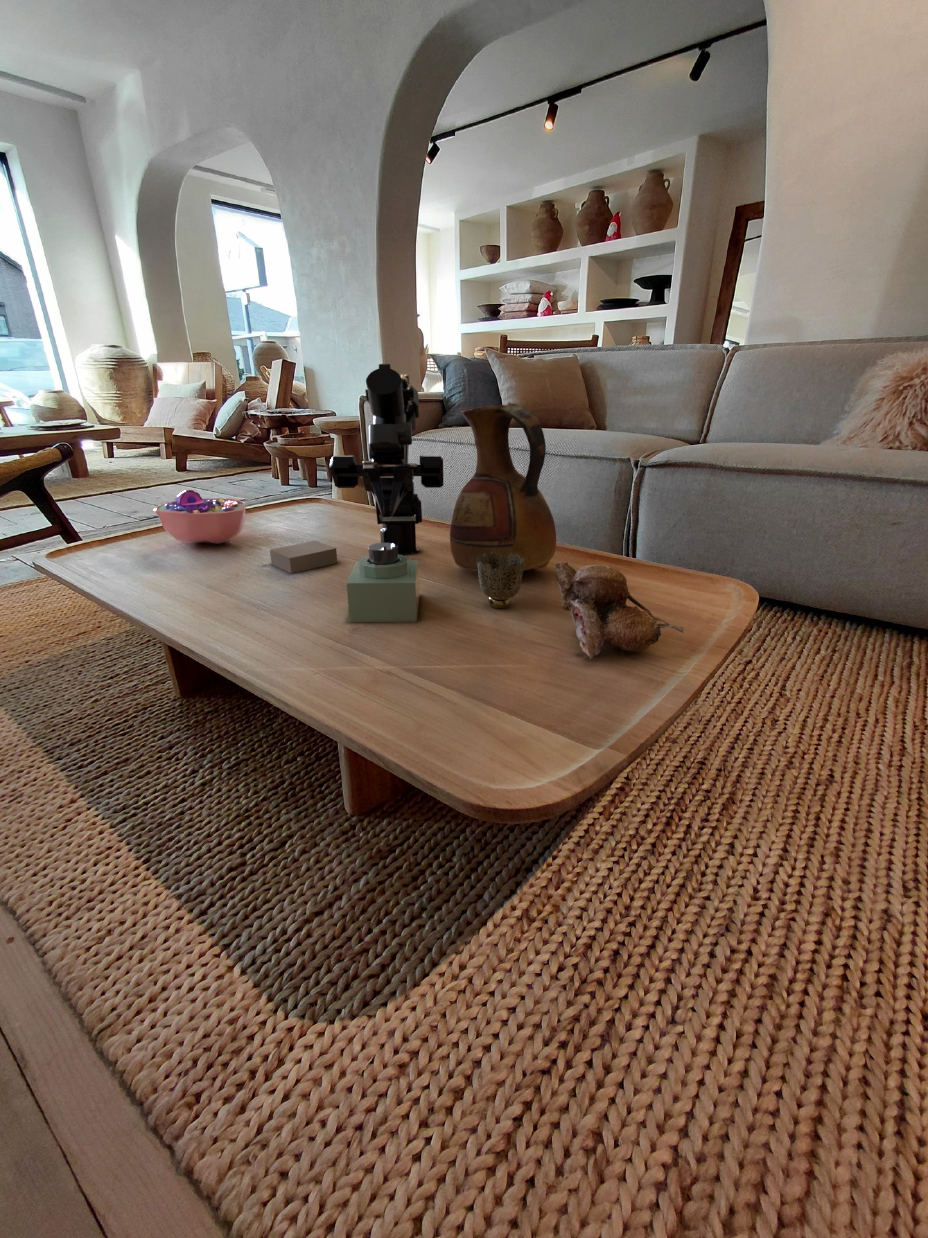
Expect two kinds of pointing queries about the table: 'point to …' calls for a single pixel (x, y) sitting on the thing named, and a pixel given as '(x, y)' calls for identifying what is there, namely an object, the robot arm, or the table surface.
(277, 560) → the brown rectangular block
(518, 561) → the cup
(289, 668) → the table surface
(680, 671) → the table surface
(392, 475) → the robot arm
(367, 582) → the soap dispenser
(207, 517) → the cell model
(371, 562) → the dark grey metal cylinder
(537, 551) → the ceramic pitcher
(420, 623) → the table surface
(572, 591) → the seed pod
